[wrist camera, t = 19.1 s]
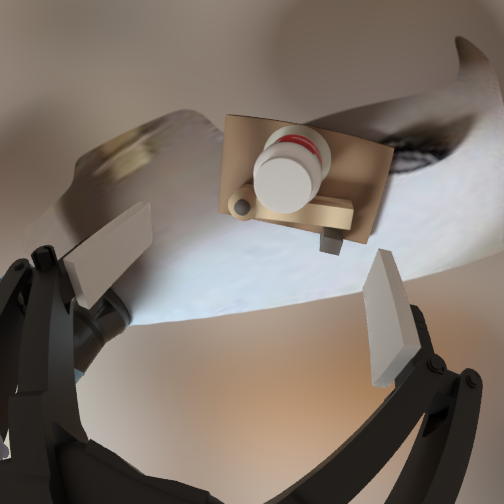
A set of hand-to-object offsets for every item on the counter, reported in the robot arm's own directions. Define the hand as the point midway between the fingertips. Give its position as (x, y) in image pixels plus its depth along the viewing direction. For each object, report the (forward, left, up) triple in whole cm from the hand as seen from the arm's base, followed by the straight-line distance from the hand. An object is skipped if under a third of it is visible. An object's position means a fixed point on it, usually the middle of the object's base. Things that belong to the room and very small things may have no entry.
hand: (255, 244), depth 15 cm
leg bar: (+1, -5, -19) cm, 19 cm away
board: (+1, -2, -21) cm, 21 cm away
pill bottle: (0, +1, -19) cm, 19 cm away
